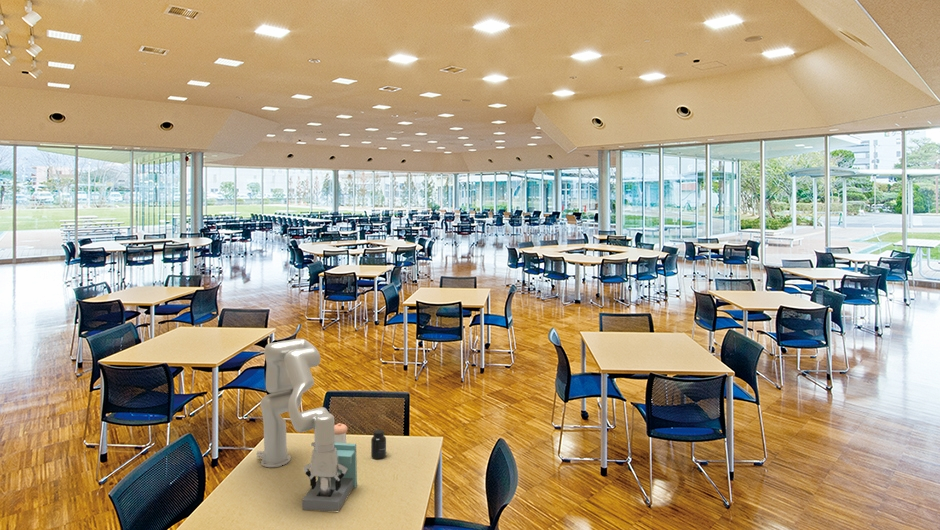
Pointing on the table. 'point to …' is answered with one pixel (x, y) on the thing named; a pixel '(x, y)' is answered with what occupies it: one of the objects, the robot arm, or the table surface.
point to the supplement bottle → (378, 445)
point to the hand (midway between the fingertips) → (325, 488)
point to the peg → (325, 486)
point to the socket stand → (347, 482)
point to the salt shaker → (340, 433)
